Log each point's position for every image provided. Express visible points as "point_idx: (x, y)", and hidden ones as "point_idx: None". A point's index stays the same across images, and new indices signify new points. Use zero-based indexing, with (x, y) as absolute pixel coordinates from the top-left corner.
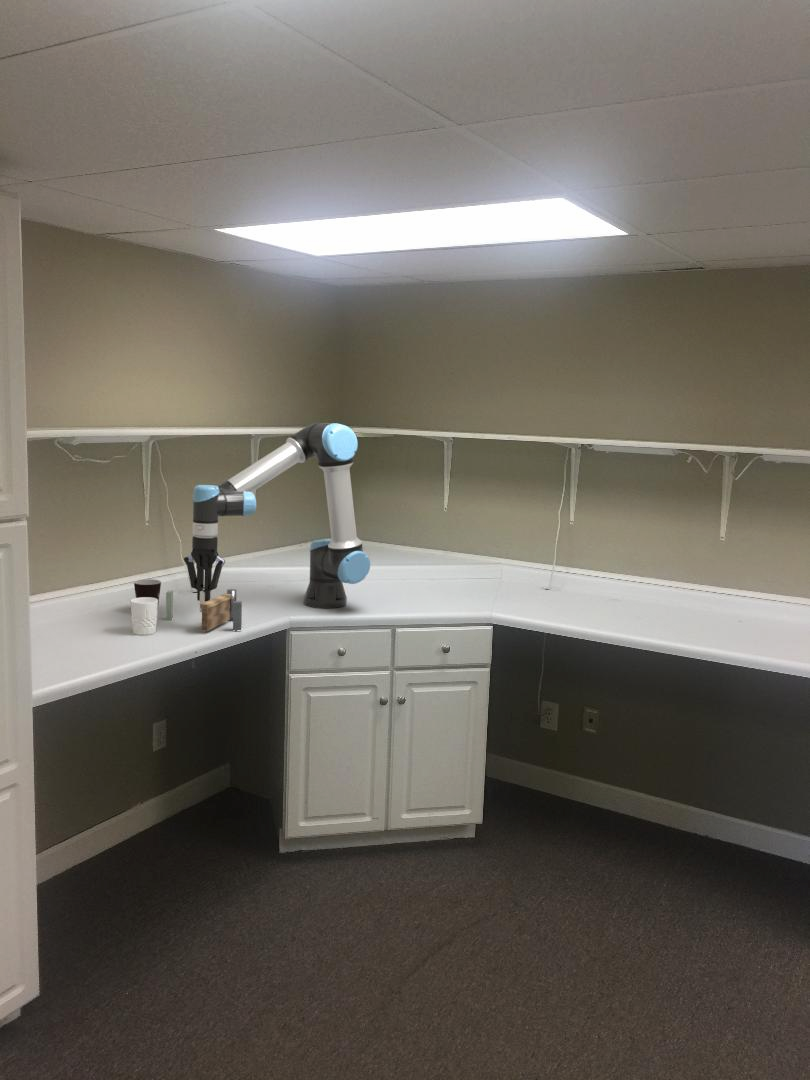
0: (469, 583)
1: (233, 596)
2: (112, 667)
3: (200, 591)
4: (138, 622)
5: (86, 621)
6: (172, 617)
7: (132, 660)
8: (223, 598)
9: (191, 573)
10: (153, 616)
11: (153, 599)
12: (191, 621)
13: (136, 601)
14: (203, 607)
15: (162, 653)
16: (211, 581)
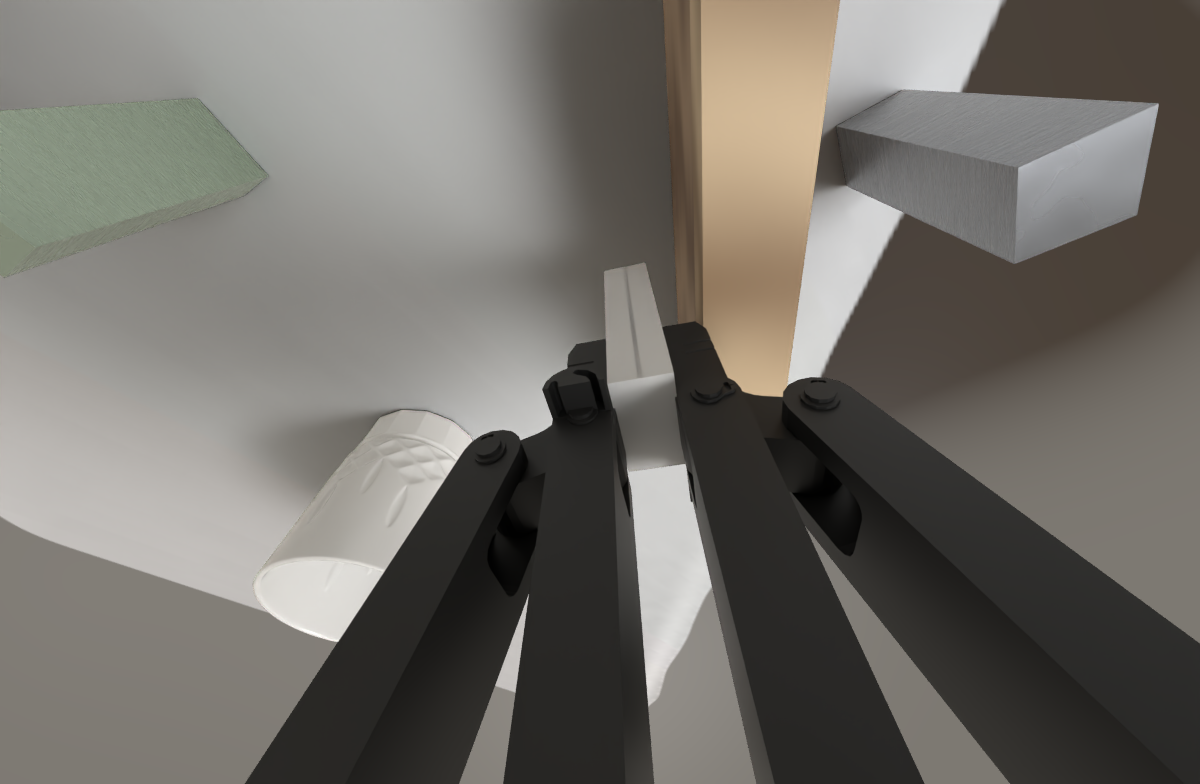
0: None
1: None
2: (645, 658)
3: (636, 470)
4: None
5: (60, 444)
6: (214, 125)
7: (651, 626)
8: (819, 127)
9: (456, 755)
10: None
11: (332, 551)
12: (402, 108)
13: (278, 578)
14: None
15: (689, 573)
16: (854, 587)
